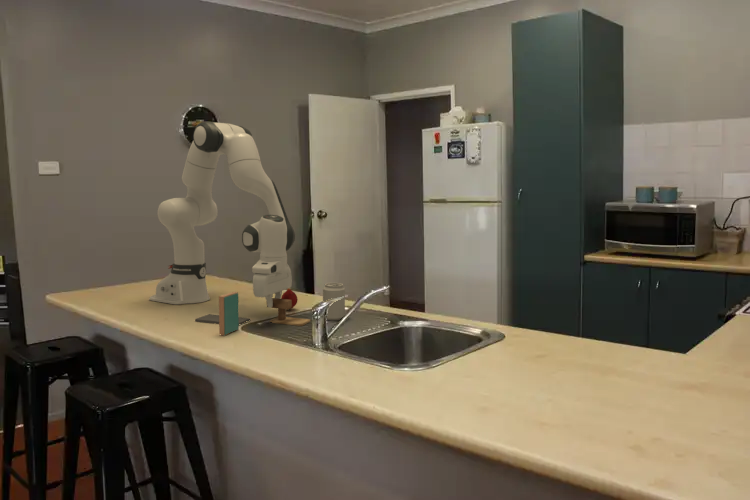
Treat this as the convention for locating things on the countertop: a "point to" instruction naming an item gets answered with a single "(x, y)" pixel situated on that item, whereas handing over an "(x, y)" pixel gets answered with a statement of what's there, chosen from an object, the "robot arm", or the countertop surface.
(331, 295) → the can
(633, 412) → the countertop surface
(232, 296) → the tile
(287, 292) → the onion
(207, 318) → the mat
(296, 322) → the wooden trowel
